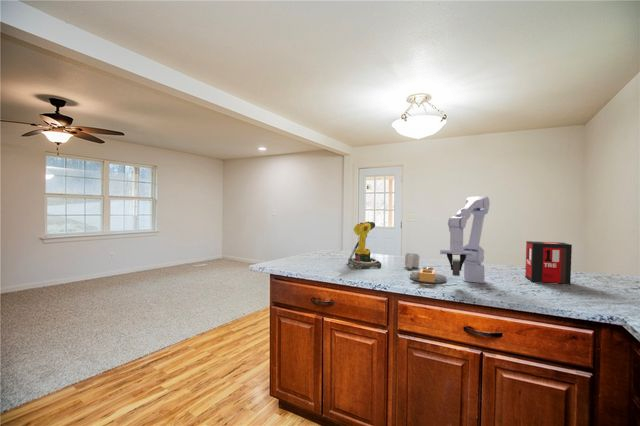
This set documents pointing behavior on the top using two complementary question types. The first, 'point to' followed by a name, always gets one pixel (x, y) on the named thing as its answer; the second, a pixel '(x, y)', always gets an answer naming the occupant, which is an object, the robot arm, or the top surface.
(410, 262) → the grey rounded block
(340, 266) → the top surface
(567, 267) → the cleaning product box
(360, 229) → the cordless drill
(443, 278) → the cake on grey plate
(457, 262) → the wedge
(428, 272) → the bracket
